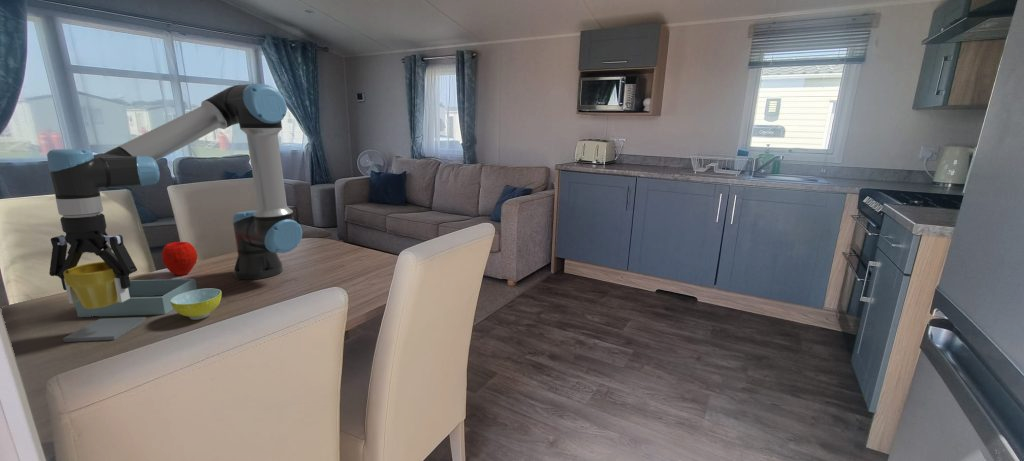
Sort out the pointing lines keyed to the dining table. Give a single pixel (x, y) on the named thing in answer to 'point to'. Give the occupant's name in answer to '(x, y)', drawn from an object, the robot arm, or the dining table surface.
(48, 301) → the dining table surface
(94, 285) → the plant pot
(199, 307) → the bowl
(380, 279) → the dining table surface
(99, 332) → the plate
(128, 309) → the crate
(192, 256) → the apple
